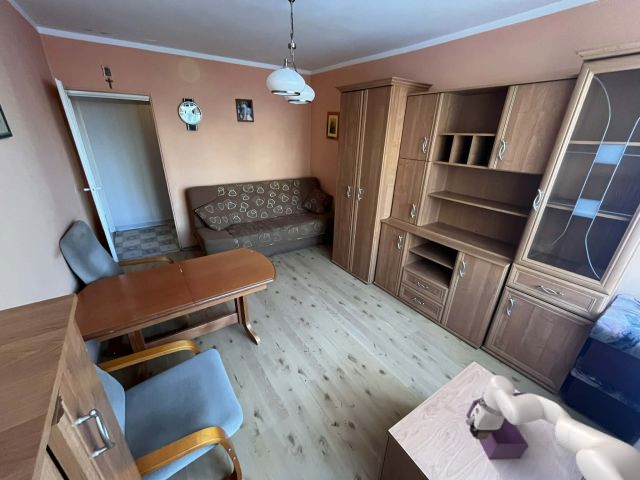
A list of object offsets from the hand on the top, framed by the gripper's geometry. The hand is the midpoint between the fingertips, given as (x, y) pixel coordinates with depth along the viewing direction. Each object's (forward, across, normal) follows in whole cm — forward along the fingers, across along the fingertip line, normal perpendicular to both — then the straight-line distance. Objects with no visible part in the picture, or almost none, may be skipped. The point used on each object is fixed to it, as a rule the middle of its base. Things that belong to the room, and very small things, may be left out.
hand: (478, 432), depth 107 cm
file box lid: (-4, +15, +11) cm, 19 cm away
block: (0, 0, 0) cm, 0 cm away
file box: (+15, +15, +7) cm, 22 cm away
